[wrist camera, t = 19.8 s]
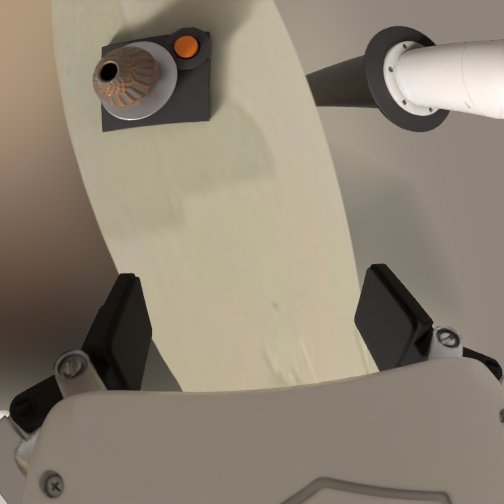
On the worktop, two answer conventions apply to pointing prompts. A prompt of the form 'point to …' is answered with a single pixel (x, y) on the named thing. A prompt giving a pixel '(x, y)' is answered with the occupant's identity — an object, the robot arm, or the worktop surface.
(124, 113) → the pan
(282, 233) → the worktop surface
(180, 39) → the tare button
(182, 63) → the scale
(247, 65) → the worktop surface
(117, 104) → the vase
